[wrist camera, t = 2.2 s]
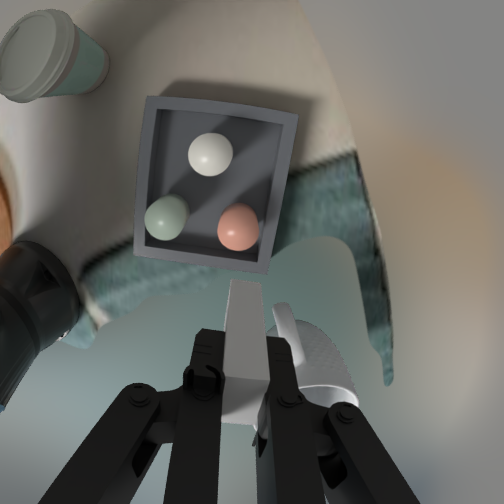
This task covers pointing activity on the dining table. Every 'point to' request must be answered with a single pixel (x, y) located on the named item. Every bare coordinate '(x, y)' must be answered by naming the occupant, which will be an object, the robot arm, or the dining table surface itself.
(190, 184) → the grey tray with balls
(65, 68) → the coffee cup
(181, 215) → the button sage
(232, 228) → the button coral
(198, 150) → the button ivory
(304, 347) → the mug
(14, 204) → the dining table surface
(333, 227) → the dining table surface
